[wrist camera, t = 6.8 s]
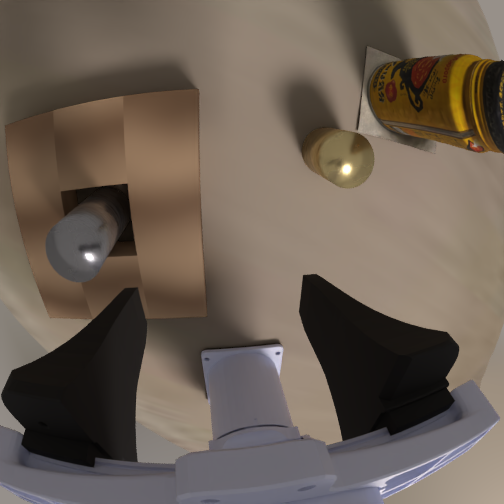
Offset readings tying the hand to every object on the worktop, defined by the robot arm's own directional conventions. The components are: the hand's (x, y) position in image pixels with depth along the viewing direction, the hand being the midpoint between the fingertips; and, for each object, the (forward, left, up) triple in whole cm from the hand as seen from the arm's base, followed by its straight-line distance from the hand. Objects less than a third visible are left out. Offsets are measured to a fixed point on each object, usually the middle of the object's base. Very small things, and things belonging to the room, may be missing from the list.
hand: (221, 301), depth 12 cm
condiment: (+10, -15, -10) cm, 21 cm away
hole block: (+1, +8, -10) cm, 13 cm away
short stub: (+5, -8, -10) cm, 14 cm away
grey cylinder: (+1, +8, -10) cm, 13 cm away
